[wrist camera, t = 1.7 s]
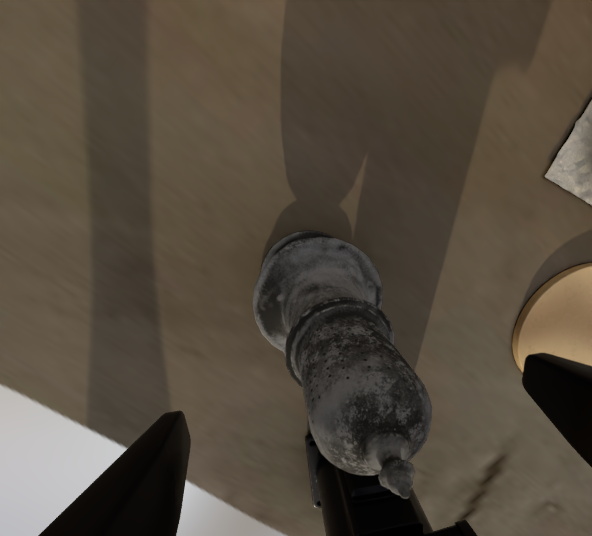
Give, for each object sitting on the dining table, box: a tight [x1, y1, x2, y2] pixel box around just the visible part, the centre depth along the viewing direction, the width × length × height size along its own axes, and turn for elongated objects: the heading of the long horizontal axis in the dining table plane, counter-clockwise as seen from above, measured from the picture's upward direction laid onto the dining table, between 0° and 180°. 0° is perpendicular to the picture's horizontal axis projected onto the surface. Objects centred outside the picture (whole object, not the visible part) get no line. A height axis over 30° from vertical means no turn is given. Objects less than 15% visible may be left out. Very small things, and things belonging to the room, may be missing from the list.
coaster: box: [512, 263, 592, 372], centre depth 19 cm, size 9×9×1 cm
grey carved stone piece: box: [253, 231, 432, 499], centre depth 11 cm, size 6×6×12 cm
